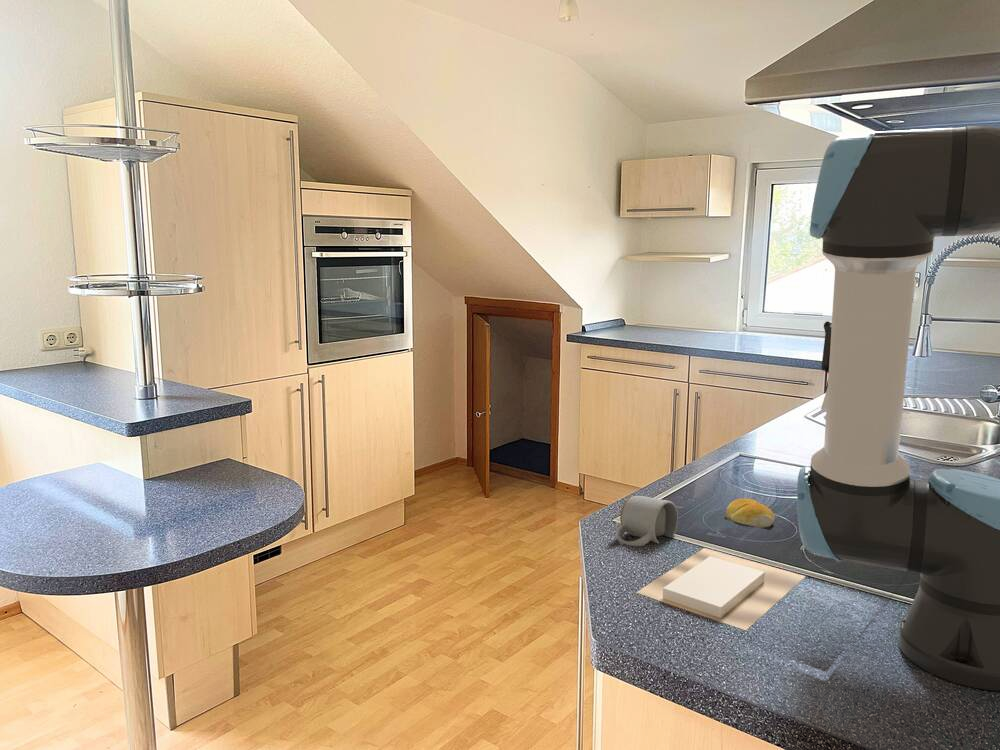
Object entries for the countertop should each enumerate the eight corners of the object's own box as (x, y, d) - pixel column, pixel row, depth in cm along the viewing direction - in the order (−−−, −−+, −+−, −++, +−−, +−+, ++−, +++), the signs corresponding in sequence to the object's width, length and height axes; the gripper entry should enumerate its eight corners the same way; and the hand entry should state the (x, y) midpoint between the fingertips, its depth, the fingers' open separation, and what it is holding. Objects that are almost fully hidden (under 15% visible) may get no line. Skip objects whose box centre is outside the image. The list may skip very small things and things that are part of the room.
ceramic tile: (710, 556, 121) (663, 588, 110) (764, 571, 115) (721, 607, 104) (709, 565, 122) (662, 598, 110) (764, 582, 116) (720, 618, 105)
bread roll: (754, 511, 149) (755, 491, 148) (780, 527, 140) (782, 507, 140) (716, 514, 147) (717, 495, 146) (740, 531, 138) (741, 510, 138)
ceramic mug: (640, 526, 141) (641, 487, 139) (678, 538, 135) (679, 497, 134) (605, 543, 133) (606, 502, 132) (644, 556, 128) (645, 513, 126)
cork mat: (704, 552, 129) (704, 547, 129) (805, 581, 118) (805, 576, 118) (635, 597, 113) (636, 592, 112) (745, 635, 101) (745, 630, 101)
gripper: (918, 286, 122) (879, 421, 118) (855, 298, 134) (817, 421, 130) (885, 265, 120) (844, 402, 115) (824, 280, 132) (784, 404, 128)
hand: (830, 412), depth 123 cm, fingers closed
